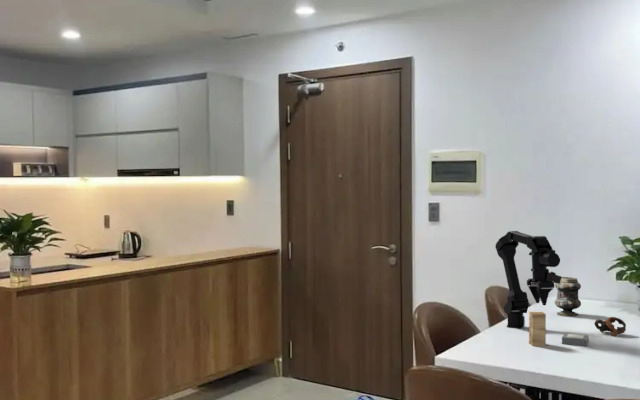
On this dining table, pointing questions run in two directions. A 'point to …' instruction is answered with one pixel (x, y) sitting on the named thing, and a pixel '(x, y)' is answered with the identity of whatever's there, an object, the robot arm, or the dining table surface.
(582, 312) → the dining table surface
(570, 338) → the base tile
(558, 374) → the dining table surface
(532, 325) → the oak post
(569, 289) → the apothecary jar
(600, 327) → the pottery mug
